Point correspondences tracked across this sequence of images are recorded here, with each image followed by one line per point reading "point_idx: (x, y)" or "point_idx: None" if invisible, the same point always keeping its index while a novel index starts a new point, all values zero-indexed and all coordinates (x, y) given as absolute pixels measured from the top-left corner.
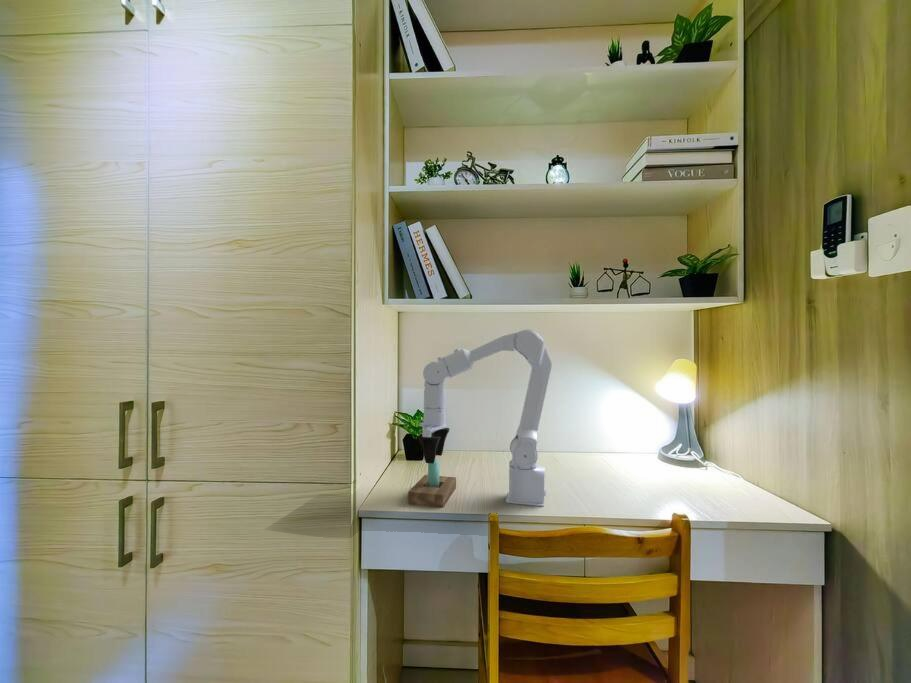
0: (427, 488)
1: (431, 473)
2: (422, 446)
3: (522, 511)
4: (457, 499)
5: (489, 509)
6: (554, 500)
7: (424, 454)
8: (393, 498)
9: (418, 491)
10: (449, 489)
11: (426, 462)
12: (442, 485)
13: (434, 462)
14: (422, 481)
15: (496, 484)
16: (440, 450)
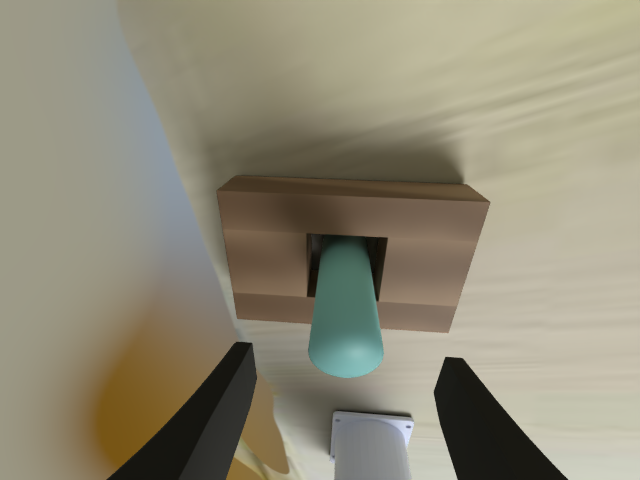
0: (283, 257)
1: (315, 301)
2: (121, 472)
3: (296, 429)
4: None
5: (285, 382)
6: None
7: (198, 393)
8: (278, 83)
9: (236, 231)
10: None
11: (234, 348)
12: None
13: (322, 358)
14: (372, 216)
15: None
16: (446, 427)
